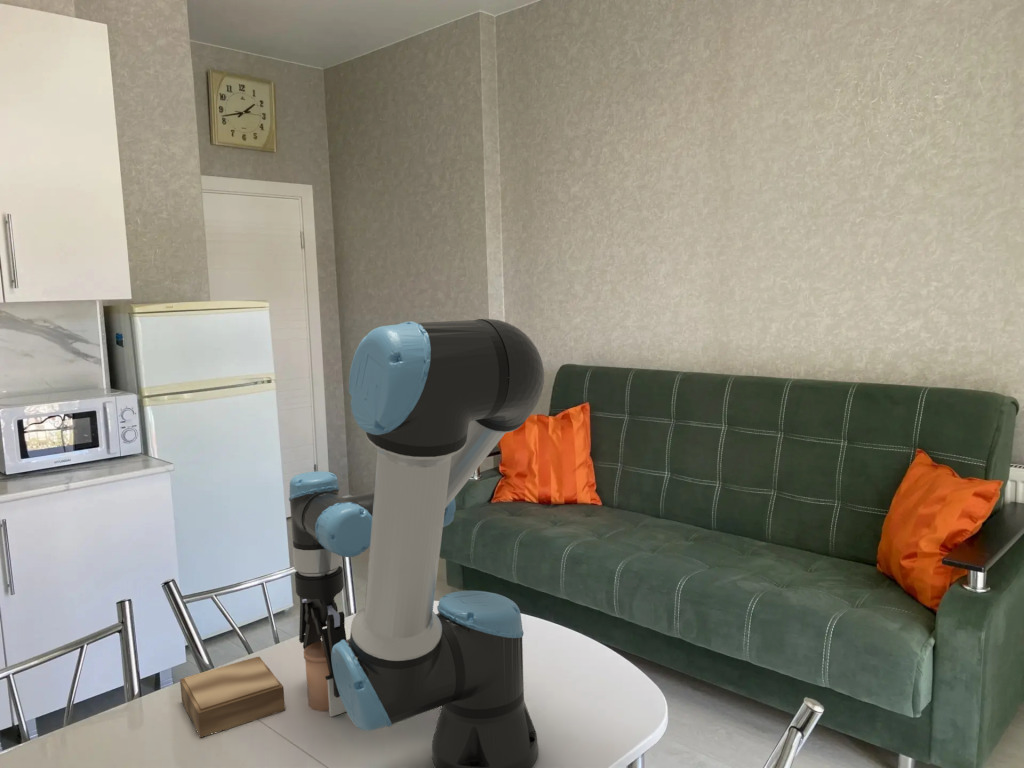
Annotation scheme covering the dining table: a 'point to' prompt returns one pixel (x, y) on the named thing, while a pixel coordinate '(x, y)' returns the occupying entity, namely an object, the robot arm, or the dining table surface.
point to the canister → (316, 676)
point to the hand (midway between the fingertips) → (326, 699)
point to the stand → (231, 695)
